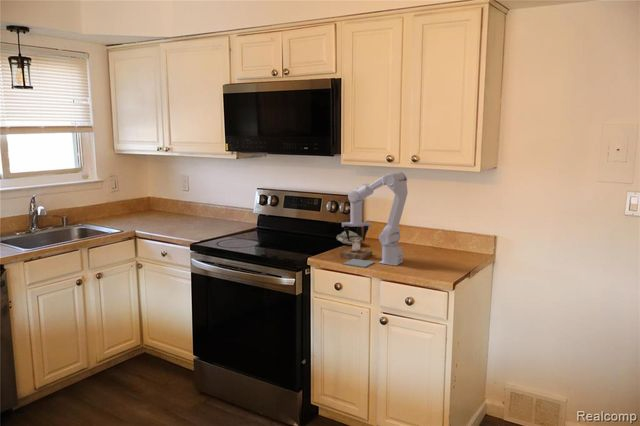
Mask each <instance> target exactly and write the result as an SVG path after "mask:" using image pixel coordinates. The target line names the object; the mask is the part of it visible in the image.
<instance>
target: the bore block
mask: <svg viewBox="0 0 640 426" xmlns="http://www.w3.org/2000/svg"><path fill="white" fill-rule="evenodd" d="M371 256H373V250H372V249H363V248H360V253H354V252H352V247H350V248H347V249H345V250H343V251H341V252H340V253H339V257H340V258H342V257H343V258H342V259H348V258H350V260H351V259H359V260H365V259H367V258H370V257H371Z"/></svg>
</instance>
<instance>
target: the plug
mask: <svg viewBox="0 0 640 426" xmlns="http://www.w3.org/2000/svg"><path fill="white" fill-rule="evenodd" d="M351 248H352V252H354V253H360V249H361V242H360V240H353V241H352V246H351Z"/></svg>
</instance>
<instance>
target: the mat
mask: <svg viewBox="0 0 640 426" xmlns="http://www.w3.org/2000/svg"><path fill="white" fill-rule="evenodd" d="M373 264H375V261H373V260H365V259H363V260H359V259H350V260H347V261H344V262H343V263H342V265H343V266H344V265H345V266H350V267H351V266H352V267H358V268H368V267H369V266H371V265H373Z"/></svg>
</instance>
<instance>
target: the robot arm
mask: <svg viewBox="0 0 640 426" xmlns="http://www.w3.org/2000/svg"><path fill="white" fill-rule="evenodd" d="M407 183H408V178H407V176H406V174H405V173H404V172H403V171H398V172H389V173H386V174H384V175H383V176H381V177H379V178H378V179H376V180H375V181H373V182H372V183H363V184H362V186H360V187H357V188H356V189H355V190H351V191H350V192H348V195H347V199H348V201H349V203H350V221H347V222H346V221H345V222H341V227H342V228H343V229H344V231H345V232H346V234H347V238H348V241H349V231H350V227H351V228H352V227H354V228H355V227H356V228H357V227H361V228H362V227H363V231H362V232H363V233H362V234H363V235H362V238H363V240H362V242H365V239H366V235H367V232H368V230H369V228H371V224H372V223H371V222H370V221H369V222H367V221H363V214H362V213H363V211H362V210H363V206H362V205H363V203H364V202H363V201H364V200H365V199H367V197H369V196H371V195H373V193H374V191H375V190H377V189H379V188H381V187H383V186H386V187H387V188H389V190H391V191H392V192H393V194H394V197H393V200H392V201H393V202H392V205H391V208H390V211H389V216H388V219H387V223H386V225H385V227H384V228H382V231H381V233H379V236H378V240H379V243H380V244H381V260H380V261H378V263H379V264H382V265H390V266H395V267H396V266H398V265H400V264H401V263H403V262H404V261H403V252H404V251H403V247H402V246H400V245H398V242H399V241H400V238H401V229H400V227H399V225H400V222H401V219H402V216H403V211H404V208H405V203H406V201H407V197H408V192H409V191H408V185H407Z"/></svg>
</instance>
